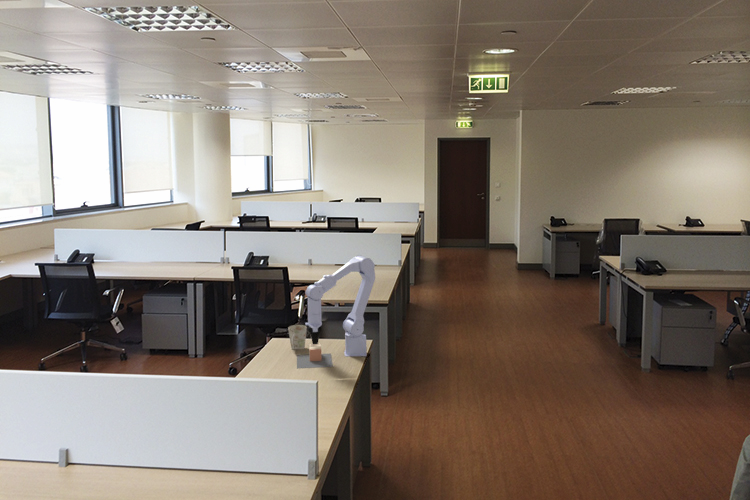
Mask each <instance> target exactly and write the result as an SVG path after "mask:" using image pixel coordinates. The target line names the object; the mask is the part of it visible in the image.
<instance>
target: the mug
mask: <svg viewBox="0 0 750 500" xmlns="http://www.w3.org/2000/svg"><path fill="white" fill-rule="evenodd" d="M287 328H288V329H287V331H288V336H289V341H290V342H289V343H290V349H291V350H294V351H295V350H304V349H305V346H306V338H307V329H308V327H307V325H303V324H293V325H289V326H288V327H287Z"/></svg>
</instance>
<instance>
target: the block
mask: <svg viewBox="0 0 750 500" xmlns="http://www.w3.org/2000/svg"><path fill="white" fill-rule="evenodd" d="M308 346H309V347H308V349H309V356H310V361H322V360H321V354H322V345H321V343H320V342H318V344H313V343H309V345H308Z"/></svg>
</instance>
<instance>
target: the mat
mask: <svg viewBox="0 0 750 500" xmlns="http://www.w3.org/2000/svg"><path fill="white" fill-rule="evenodd" d="M321 360H322V361H310V356H309V354H296V369H312V368H313V369H315V368H334V364H333V358H332V353H321Z"/></svg>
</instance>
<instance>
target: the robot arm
mask: <svg viewBox="0 0 750 500" xmlns="http://www.w3.org/2000/svg"><path fill="white" fill-rule="evenodd" d="M375 266H376V264H375V262H373V260H372V259H371V258H369V257H366V256H363V255H360V254H359V255H355V256H354V257H353V258H350V260H348V261H347V262H346V263H345V264H344V265H343V266H341V267H340V268H339V269H337V270H336V271H335V272H334V273H332V274H324V275H323V276H322V278H321V279H319V280H318V281H315V282H314V284H310V285H308V286H307V288H306V290H305V291H304V293H305V295H306V297H307V322H304V323H305V325H304V326H308V327H307V329H308V332H309V334H310V337H311V342H312V343H311V344H318V343H319V339H320V334H321V332H322V325H323V322H322V299H323V297H324V294H325V293H327V292H328V291H330V290H331V289H333V288H334V287H335V286H337V282H338V281H339V280H341V279H342V278H344V277H346V276H348V275H349V274H350V273H351V272H352V273H353V272H354V273H355V272H356V273H357V272H358V273H359V275H360V276H361V278H362V279H361V282H360V285H359V288H358V291H357V294H356V297H355V299H354V303H353V305H352V309H351V312H350V313H348V315H347V317H346V318H345V320H344V321H343V323H342V328H343V330H344V331H345V334H344V338H345V339H344V343H345V344H344V345H345V347H344V349H345V350H343V352H344V356H345V357H367V355H368V354H367V349H368V348H367V347H368V346H367V335H366V334H363V333H364V329H365V328H364V324H365V317H364V314H365V311H366V308H367V304H368V303H369V298H370V296H371V293H372V290H373V287H374V283H375V281H376V271H375Z"/></svg>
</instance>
